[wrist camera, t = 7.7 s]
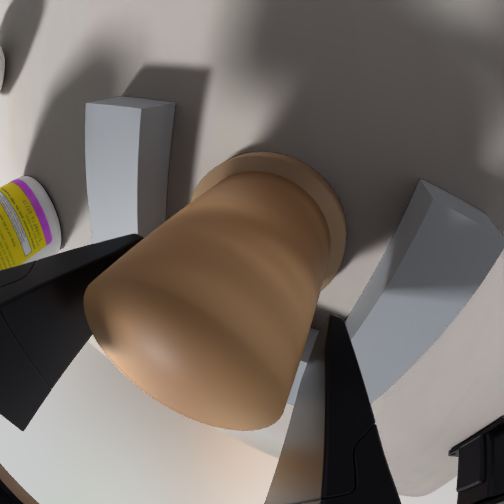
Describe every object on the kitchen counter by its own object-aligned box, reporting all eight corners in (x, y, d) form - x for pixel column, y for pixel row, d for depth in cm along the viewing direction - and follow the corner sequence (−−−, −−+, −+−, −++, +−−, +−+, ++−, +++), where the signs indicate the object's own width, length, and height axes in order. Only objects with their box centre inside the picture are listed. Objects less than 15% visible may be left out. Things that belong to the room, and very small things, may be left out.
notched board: (486, 214, 7) (507, 241, 6) (353, 393, 14) (347, 422, 13) (120, 96, 10) (85, 102, 8) (126, 296, 17) (107, 315, 15)
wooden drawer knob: (371, 184, 9) (375, 348, 3) (315, 307, 12) (266, 455, 7) (210, 132, 10) (46, 205, 4) (194, 258, 13) (97, 369, 8)
